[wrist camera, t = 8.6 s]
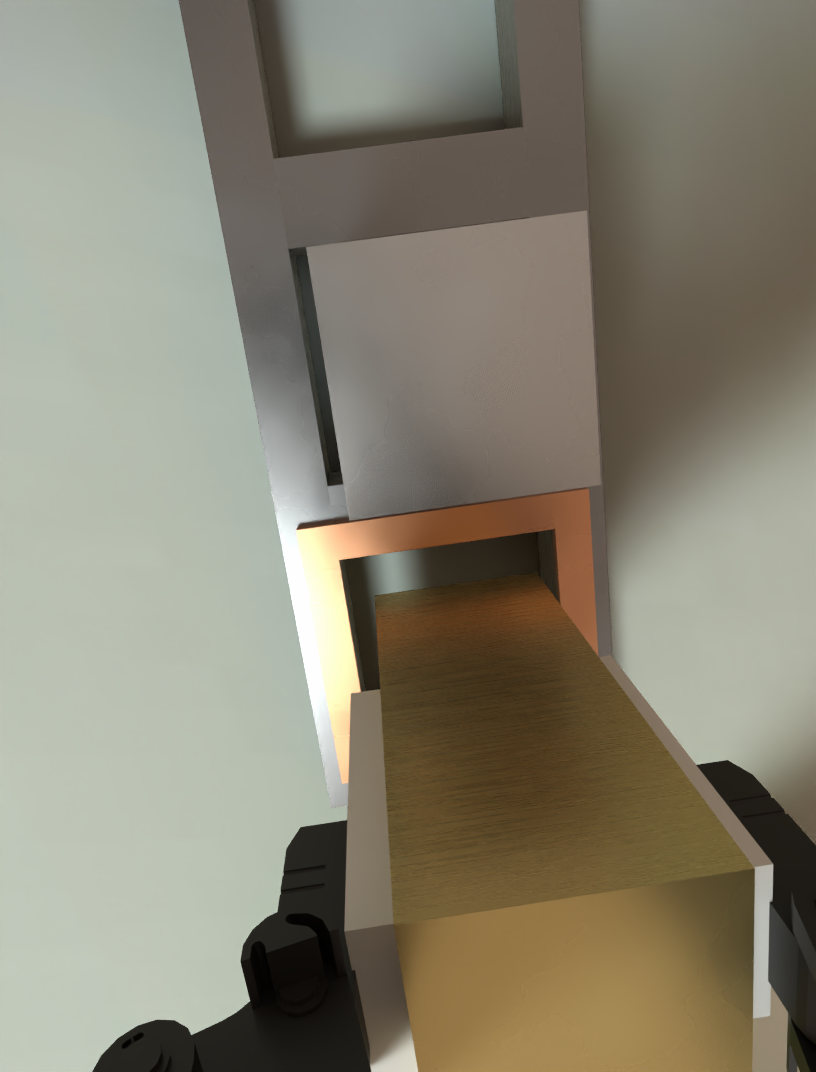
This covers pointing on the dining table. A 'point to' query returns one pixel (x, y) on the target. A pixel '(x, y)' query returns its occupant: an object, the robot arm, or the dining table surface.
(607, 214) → the dining table surface
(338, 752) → the grey compartment tray
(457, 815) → the brass block
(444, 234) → the grey rectangular block
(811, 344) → the dining table surface
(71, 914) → the dining table surface
